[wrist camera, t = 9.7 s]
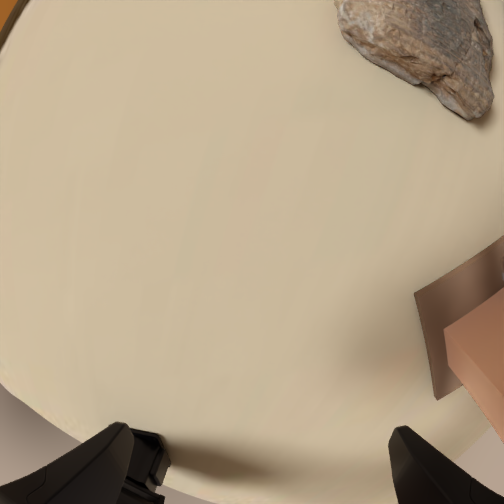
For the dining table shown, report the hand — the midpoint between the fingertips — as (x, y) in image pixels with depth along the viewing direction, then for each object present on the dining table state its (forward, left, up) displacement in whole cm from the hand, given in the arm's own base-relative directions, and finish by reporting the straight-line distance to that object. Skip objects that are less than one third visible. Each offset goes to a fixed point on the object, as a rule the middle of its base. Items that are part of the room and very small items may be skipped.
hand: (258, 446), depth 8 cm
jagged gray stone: (+14, +24, -14) cm, 31 cm away
